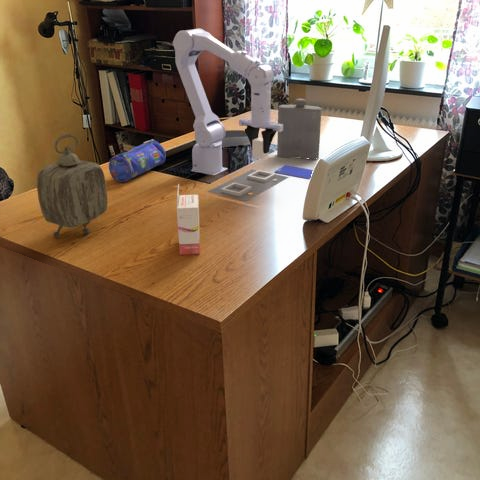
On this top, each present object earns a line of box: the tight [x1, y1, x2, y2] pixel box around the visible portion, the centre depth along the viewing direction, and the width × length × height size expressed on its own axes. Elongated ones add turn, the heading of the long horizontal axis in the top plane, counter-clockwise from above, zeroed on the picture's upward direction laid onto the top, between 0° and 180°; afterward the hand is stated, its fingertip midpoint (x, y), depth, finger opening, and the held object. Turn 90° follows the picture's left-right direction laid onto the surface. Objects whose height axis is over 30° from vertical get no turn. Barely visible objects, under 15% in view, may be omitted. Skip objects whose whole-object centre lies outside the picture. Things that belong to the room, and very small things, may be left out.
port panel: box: [207, 169, 290, 202], centre depth 165 cm, size 14×24×2 cm, turn 146°
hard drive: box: [273, 164, 314, 180], centre depth 174 cm, size 2×8×12 cm
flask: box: [276, 98, 322, 160], centre depth 187 cm, size 15×6×20 cm, turn 73°
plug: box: [251, 136, 270, 160], centre depth 165 cm, size 4×4×6 cm
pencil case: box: [108, 138, 167, 183], centre depth 174 cm, size 22×9×10 cm, turn 154°
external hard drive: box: [222, 129, 250, 149], centre depth 206 cm, size 13×19×4 cm
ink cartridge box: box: [176, 183, 201, 256], centre depth 125 cm, size 9×5×15 cm, turn 5°
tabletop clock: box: [36, 133, 108, 239], centre depth 130 cm, size 14×9×25 cm, turn 150°
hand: (260, 151), depth 165 cm, fingers closed on plug, 4 cm apart
